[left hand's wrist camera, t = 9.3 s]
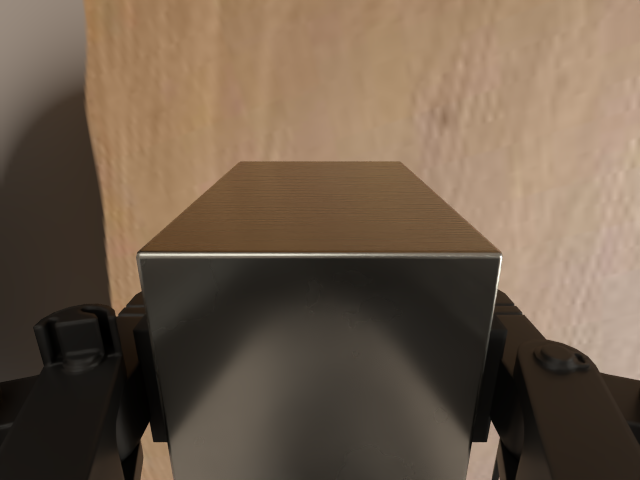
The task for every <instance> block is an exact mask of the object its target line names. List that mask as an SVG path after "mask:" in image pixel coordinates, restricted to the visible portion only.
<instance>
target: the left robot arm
mask: <svg viewBox="0 0 640 480" xmlns="http://www.w3.org/2000/svg"><path fill="white" fill-rule="evenodd" d="M33 329H34V332H35V336H36V339H37V343H38V346H39V350H40V353H41V357H42V360H43V364H44V367H43V370H42V371H41V373H40V375H36V376H32V377H27V378H21V379H16V380H11V381H6V382H1V383H0V480H140V478H141V471H142V464H143V450H142V445H141V440H140V439H141V437H142V435H143V433H144V431H145V429H146V427H147V425H148V423H149V422H150V426H151V432H152V437H153V442H167V437H166V431H165V425H164V419H163V413H162V408H161V402H160V396H159V390H158V384H157V378H156V372H155V366H154V360H153V354H152V348H151V342H150V337H149V331H148V325H147V319H146V313H145V307H144V301H143V295H142V291H141V292H140V293H138V294H136V295H135V296H134V297H133V298H132V300H131V301H130V302H129V303H128V304H127V305H126V308H124V309H123V310H122V311H121V312H120V313H119V314H118V317H116V315H115V310H114V309H112V308H111V307H109V306H107V305H102V304H83V305H78V306H73V307H68V308H65V309H62V310H60V311H57V312H54V313H52V314H50V315H49V316H47V317H45V318H43V319H41V320H40V321H39V322H38V323H37V324H36V325H35V326H34V327H33ZM491 421H492V423H493V425H494V427H495V428H496V430H497V432H498V434H499V436H500V440H499V445H498V450H497V455H496V460H495V465H494V470H493V475H492V480H498V479H499V477H500V480H640V381H639V380H634V379H629V378H624V377H619V376H614V375H608V374H604V373H600V372H599V370H598V368H597V367H596V365H595V364H594V363H593V362H592V361H591V359H590V358H589V357H588V356H586V355H585V354H583V353H582V352H580V351H579V350H577V349H575V348H573V347H570V346H568V345H565V344H563V343H559V342H555V341H551V340H546V339H545V338H544V336H543V335H542V334H541V333H540V332H539V331H538V330H537V329H536V328H535V326H534V325H533V324H532V323H531V322H530V321H529V320H528V319H527V318H526V316H525V315H522V312H521V311H520V310H519V309H518V307H517V306H514V303H513V302H512V301H511V300H510V299H509V297H508V296H507V295H506V294H505V293H503V292H502V291H500V290H498V289H497V295H496V301H495V307H494V313H493V319H492V325H491V331H490V337H489V343H488V349H487V355H486V361H485V367H484V373H483V379H482V385H481V391H480V397H479V403H478V409H477V415H476V421H475V427H474V433H473V439H472V442H487V439H488V433H489V428H490V422H491Z"/></svg>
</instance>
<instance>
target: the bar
mask: <svg viewBox="0 0 640 480" xmlns="http://www.w3.org/2000/svg"><path fill="white" fill-rule="evenodd" d="M502 259H503V256H502V253H501V251H500V250H498V249H497V248H496V247H495V246H494V245H493V244H492V243H491V242H490V241H488V240H487V239H486V238H485V237H484V236H483V235H482V234H481V233H479V232H478V231H477V230H476V229H475V228H474V227H473V226H472V225H471V224H469V223H468V222H467V221H466V220H465V219H464V218H463V217H462V216H461V215H459V214H458V213H457V212H456V211H455V210H454V209H453V208H452V207H451V206H449V205H448V204H447V203H446V202H445V201H444V200H443V199H442V198H441V197H439V196H438V195H437V194H436V193H435V192H434V191H433V190H432V189H431V188H429V187H428V186H427V185H426V184H425V183H424V182H423V181H422V180H420V179H419V178H418V177H417V176H416V175H415V174H414V173H413V172H412V171H410V170H409V169H408V168H407V167H406V166H405V165H404V164H403V163H402V162H239V163H238V164H237V165H235V166H234V167H233V168H232V169H231V170H230V171H229V172H227V173H226V174H225V175H224V176H223V177H222V178H221V179H220V180H218V181H217V182H216V183H215V184H214V185H213V186H212V187H211V188H209V189H208V190H207V191H206V192H205V193H204V194H203V195H201V196H200V197H199V198H198V199H197V200H196V201H195V202H194V203H192V204H191V205H190V206H189V207H188V208H187V209H186V210H185V211H183V212H182V213H181V214H180V215H179V216H178V217H177V218H175V219H174V220H173V221H172V222H171V223H170V224H169V225H168V226H166V227H165V228H164V229H163V230H162V231H161V232H160V233H159V234H157V235H156V236H155V237H154V238H153V239H152V240H151V241H149V242H148V243H147V244H146V245H145V246H144V247H143V248H142V249H140V250H139V251H138V252H137V256H136V260H137V266H138V271H139V277H140V283H141V289H142V295H143V301H144V307H145V313H146V319H147V325H148V331H149V337H150V342H151V348H152V354H153V360H154V366H155V372H156V378H157V384H158V390H159V396H160V402H161V408H162V413H163V419H164V425H165V431H166V437H167V443H168V449H169V455H170V461H171V467H172V473H173V478H174V480H466V475H467V469H468V463H469V457H470V451H471V445H472V439H473V433H474V427H475V421H476V415H477V409H478V403H479V397H480V391H481V385H482V379H483V373H484V367H485V361H486V355H487V349H488V343H489V337H490V331H491V325H492V319H493V313H494V307H495V301H496V295H497V289H498V283H499V277H500V271H501V265H502Z"/></svg>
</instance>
